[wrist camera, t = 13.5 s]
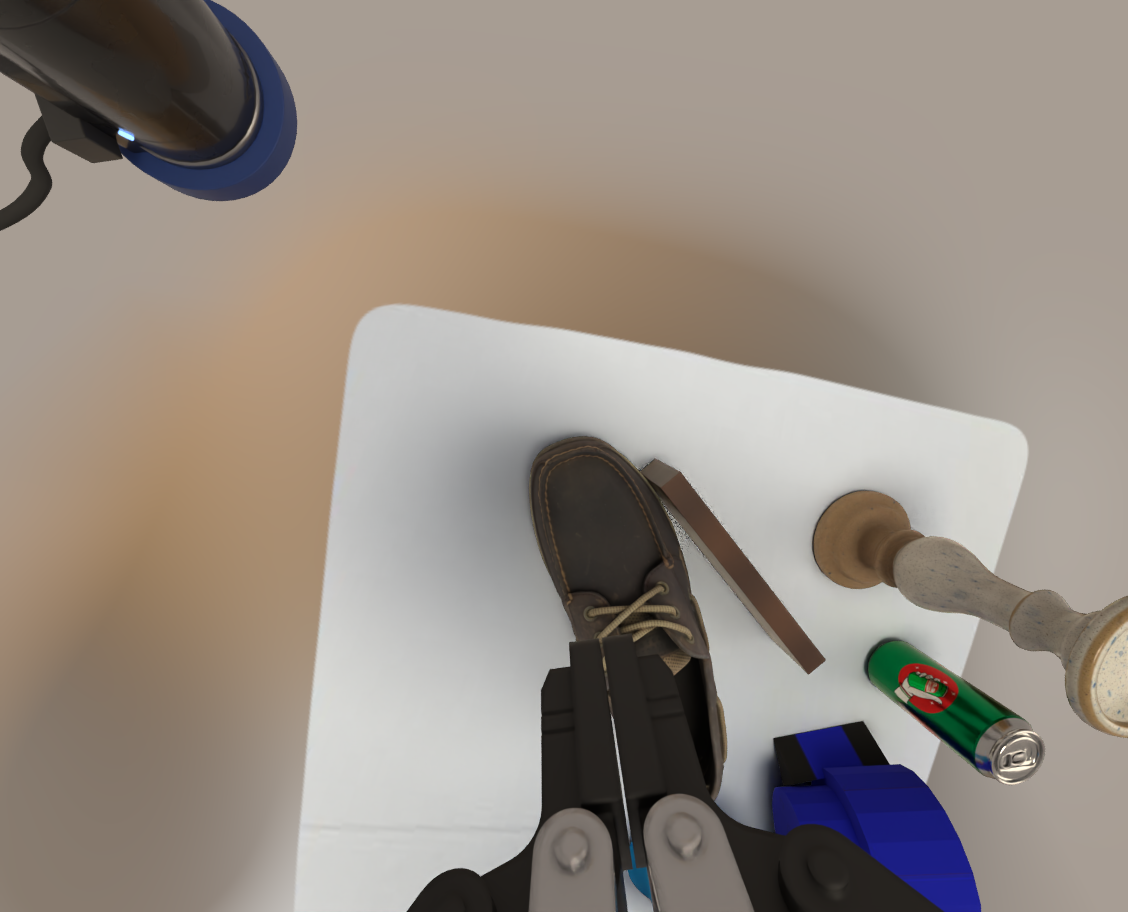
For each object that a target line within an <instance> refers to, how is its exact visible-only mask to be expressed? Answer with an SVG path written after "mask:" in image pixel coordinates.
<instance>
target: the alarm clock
mask: <svg viewBox="0 0 1128 912" xmlns="http://www.w3.org/2000/svg"><path fill="white" fill-rule="evenodd" d="M774 743H775V748H776V753H777V757H778V762H779V767H780V772H781V777H782V781H783V786H787V785H793V784H798V783H803V782H808V781H811V785H809V786H787V787H775V789H774V792H773V799H772V808H773V820H774V827H775V833H776V834H781V835H785V836H786V835H787V834H788V832H789V831H791V830H792V829H793V828H795V827H797V826H800V825H804V824H818V825H823V826H826V827H829V828H832V829H834V830H836V831H838V832H840V833H841V834H843V835H844V836H845V837H847V838H848V839H850V840H851V841H852V842H853V843H855V844H856V845H857V846H859V847H860V848H861V849H863V850H864V851H865V852H867V853H868V854H869V855H871V856H872V857H873V858H874V859H876V860H877V861H878V862H880V863H881V864H882V865H884V866H885V867H886V868H888V869H889V870H890V871H892V872H893V873H894V874H895V875H897V876H898V877H899V878H901V879H902V880H903V881H905V882H906V883H907V884H909V885H910V886H911V887H913V888H914V889H915V890H916V891H918V892H919V893H920V894H922V895H923V896H924V897H926V898H927V899H928V900H930V901H931V902H932V903H934V904H935V905H936V906H937V907H939V908H940V909H941V910H943V911H944V912H981V904H980V900H979V896H978V892H977V888H976V884H975V880H974V876H973V872H972V870H971V867H970V864H969V862H968V859H967V856H966V854H965V851H964V849H963V846H962V844H961V841H960V839H959V837H958V835H957V833H956V831H955V829H954V827H953V825H952V823H951V821H950V820H949V818H948V816H947V814H946V812H945V810H944V809H943V807H942V806H941V804H940V803H939V801H938V800H937V799H936V797H935V796H934V794H933V793H932V791H931V790H930V789H929V787H928V786H927V785H926V784H925V783H924V782H923V781H922V780H921V779H920V778H919V777H918V776H917V775H916V774H915V773H914V772H913V771H912V770H910V769H908V768H906V767H904V766H902V765H901V764H897V765H890V764H889V762H888V761H887V759H886V758H885V756H884V754H883V753H882V751H881V749H880V748H879V746H878V745H877V743H876V741H875V740H874V738H873V736H872V735H871V733H870V731H869V730H868V728H867V727H866V725H865V723H864V722H863V721H862V722H857V723H852V724H847V725H841V726H836V727H831V728H826V729H820V730H815V731H810V732H805V733H799V734H794V735H789V736H784V737H778V738H774Z"/></svg>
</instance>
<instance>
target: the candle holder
mask: <svg viewBox="0 0 1128 912" xmlns="http://www.w3.org/2000/svg"><path fill="white" fill-rule="evenodd" d="M814 554H815V558H816V561H817V563H818V565H819V567H820V569H821V570H822V572H823V573H824V574H825V575H826V576H827V577H828V578H829V579H831V580H832V581H834V582H835V583H837V584H839V585H841V586H844V587H847V588H851V589H864V588H869V587H873V586H875V585H877V584H880V583H881V582H884V583H885V584H887V585H889V586H891V587H895V588H898V589H899V591H900V592H901V594H902V595H903V596H904V597H905V598H906V599H907V600H909V601H910V602H911V603H913V604H915V605H916V606H919V607H921V608H924V609H927V610H931V611H936V612H943V613H960V614H967V615H972V616H975V617H978V618H981V619H983V620H986V621H988V622H990V623H992V624H995V625H996V626H999V627H1001V628H1003V629H1005V630H1007V631H1008V632H1009V633H1010V636H1011V638H1012V640H1013V642H1014V643H1015V644H1016V645H1017V646H1018V647H1020V648H1022V649H1024V650H1028V651H1050V652H1052V653H1054V654H1055V655H1056V656H1058V657H1059V658H1060V659H1061V662H1062V665H1063V667H1064V669H1065V671H1066V673H1065V688H1066V694H1067V698H1068V701H1069V704H1070V706H1071V707H1072V709H1073V711H1074V712H1075V713H1076V714H1077V715H1078V716H1079V717H1080V719H1081V720H1082V721H1084V722H1085V723H1087V724H1088V725H1089V726H1091V727H1093V728H1094V729H1096V730H1099V731H1101V732H1103V733H1106V734H1109V735H1112V736H1117V737H1123V738H1128V596H1126V597H1123V598H1121V599H1119V600H1116V601H1115V602H1113V603H1111V604H1110V605H1108V606H1106V607H1105V608H1104V609H1103V610H1101V611H1096V612H1091V613H1088V614H1083V613H1079V612H1076V611H1074V610H1072V609H1071V608H1070V606H1069V605H1068V604H1067V603H1066V601H1065V600H1064V599H1063V597H1061V596H1060V595H1059V594H1058V593H1056V592H1054V591H1051V590H1038V591H1034V592H1029V591H1026V590H1024V589H1022V588H1019V587H1017V586H1015V585H1013V584H1010V583H1008V582H1006V581H1004V580H1002V579H1000V578H998V577H997V576H995V575H994V574H993V573H991V572H990V571H989V570H988V569H987V568H986V567H985V566H984V565H983V564H982V563H981V562H980V561H979V560H978V558H977V557H976V556H975V555H974V554H973V553H971V552H970V551H969V550H968V549H966V548H965V547H964V546H963V545H961V544H959V543H957V542H955V541H953V540H951V539H948V538H944V537H936V536H929V537H925V536H924V535H922V534H921V533H920V532H917V531H915V530H911V527H910V522H909V519H908V516H907V514H906V512H905V510H904V509H903V507H902V506H901V505H900V504H899V503H898V502H897V501H896V500H894V499H893V498H891V497H889V496H887V495H885V494H882V493H879V492H875V491H858V492H854V493H850V494H848V495H845V496H843V497H842V498H840V499H838V500H837V501H836V502H834V503H833V504H832V505H831V506H830V507H829V508H828V509H827V510H826V512H825V513H824V514H823V516H822V517H821V519H820V521H819V523H818V525H817V528H816V531H815V536H814Z"/></svg>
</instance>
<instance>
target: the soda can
mask: <svg viewBox="0 0 1128 912" xmlns="http://www.w3.org/2000/svg"><path fill="white" fill-rule="evenodd" d="M868 673H869V678H870V680H871V682H872V684H873V685H874V686H875V687H877V688H878V689H879V690H880V691H881V692H883V693H884V694H885V695H886V696H887V697H889V698H890V699H891V700H892V701H894V702H895V703H896V704H897V705H898V706H900V707H901V708H902V709H903V710H904V711H906V712H907V713H908V714H909V715H910V716H912V717H913V718H914V719H915V720H917V721H918V722H919V723H920V724H921V725H923V726H924V727H925V728H926V729H927V730H929V731H930V732H931V733H932V734H933V735H935V736H936V737H937V738H938V739H940V740H941V741H942V742H943V743H944V744H946V745H947V746H948V747H949V748H951V749H952V750H953V751H954V752H955V753H957V754H958V755H959V756H960V757H961V758H963V759H964V760H965V761H966V762H967V763H969V764H970V765H971V766H972V767H974V768H975V769H976V770H977V771H978V772H980V773H981V774H982V775H984V776H986V777H990V778H994V779H996V780H997V781H999V782H1001V783H1003V784H1006V785H1016V784H1020V783H1022V782H1024V781H1026V780H1028V779H1029V778H1031V777H1032V776H1033V775H1034V774H1035V773H1036V772H1037V771H1038V769H1039V768H1040V766H1041V764H1042V762H1043V760H1044V756H1045V746H1044V742H1043V740H1042V739H1041V737H1040V736H1039V735H1038V734H1036V733H1035V732H1034V731H1033V729H1032V727H1031V725H1030V724H1029V723H1028V722H1027V721H1026V720H1025V719H1023V718H1022V717H1020V716H1019V715H1017V714H1016V713H1014V712H1013V711H1011V710H1009V709H1008V708H1007V707H1005V706H1003V705H1002V704H1000V703H999V702H997V701H996V700H994V699H993V698H991V697H990V696H988V695H987V694H985V693H984V692H982V691H981V690H979V689H977V688H976V687H974V686H973V685H971V684H970V683H968V682H967V681H965V680H964V679H962V678H961V677H959V676H958V675H956V674H955V673H953V672H952V671H950V670H949V669H947V668H945V667H944V666H942V665H941V664H939V663H938V662H936V661H935V660H933V659H932V658H930V657H929V656H927V655H926V654H924V653H923V652H921V651H920V650H918V649H916V648H915V647H913V646H912V645H910V644H909V643H907V642H904V641H891V642H887V643H884V644H882V645H880V646H879V647H878V648H877V649H876V650H875V651H874V652H873V653H872V655H871V657H870V659H869V663H868Z"/></svg>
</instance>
